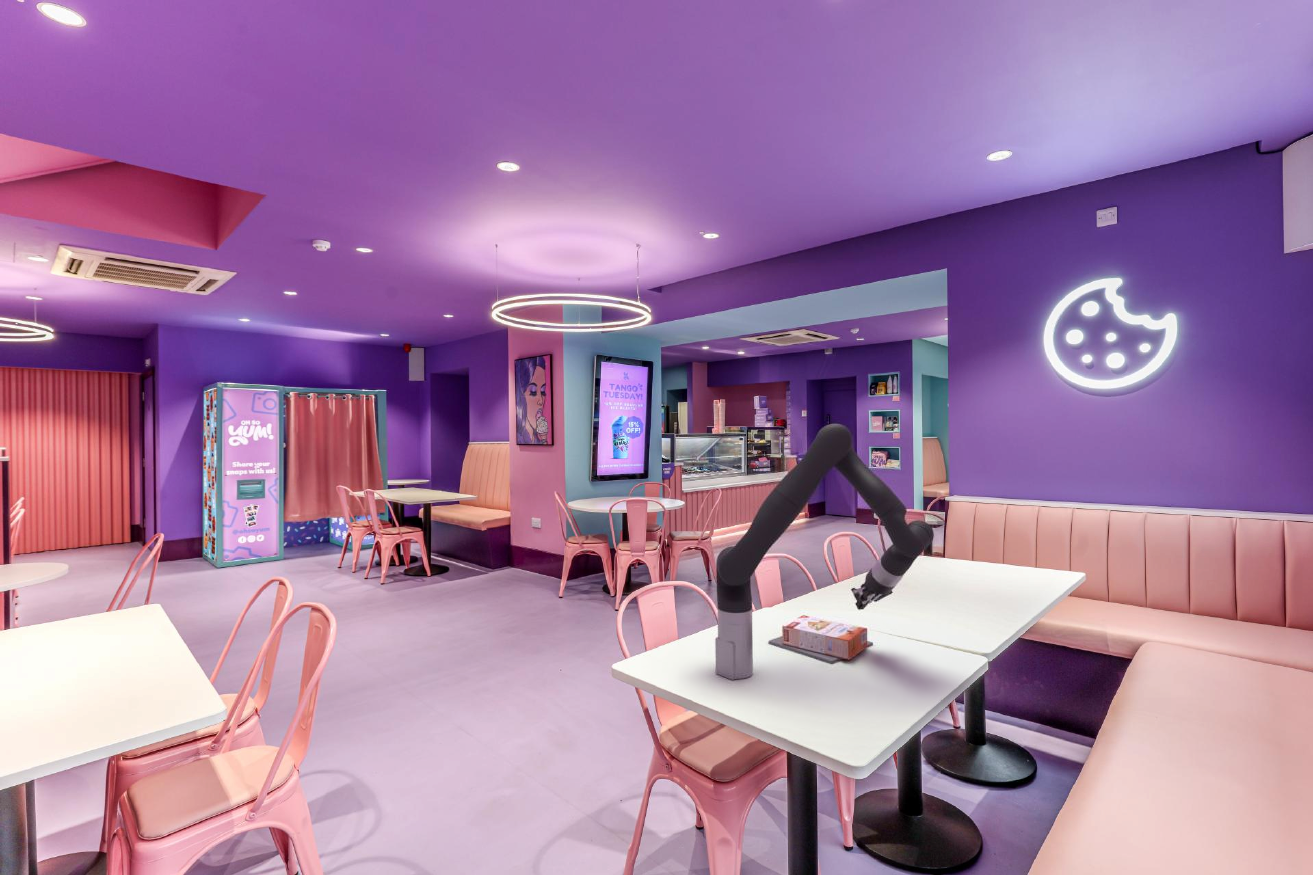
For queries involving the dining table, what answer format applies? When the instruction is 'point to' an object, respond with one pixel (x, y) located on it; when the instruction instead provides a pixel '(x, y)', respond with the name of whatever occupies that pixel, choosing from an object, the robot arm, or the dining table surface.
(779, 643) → the mat
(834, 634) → the cracker box
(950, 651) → the dining table surface
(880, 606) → the dining table surface
